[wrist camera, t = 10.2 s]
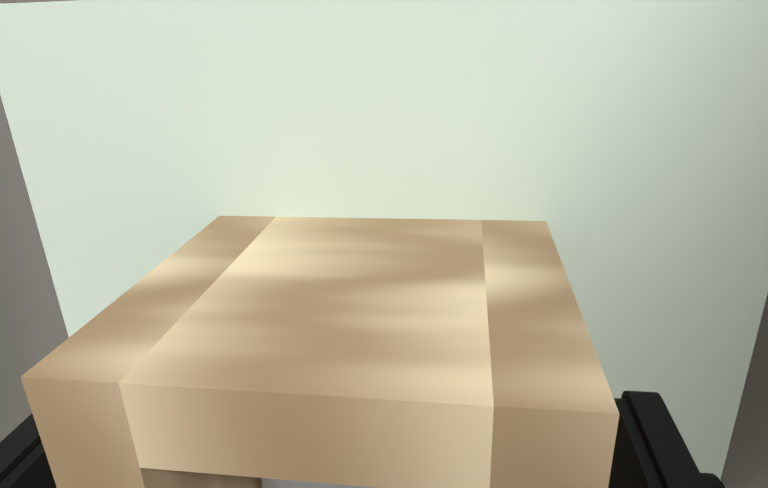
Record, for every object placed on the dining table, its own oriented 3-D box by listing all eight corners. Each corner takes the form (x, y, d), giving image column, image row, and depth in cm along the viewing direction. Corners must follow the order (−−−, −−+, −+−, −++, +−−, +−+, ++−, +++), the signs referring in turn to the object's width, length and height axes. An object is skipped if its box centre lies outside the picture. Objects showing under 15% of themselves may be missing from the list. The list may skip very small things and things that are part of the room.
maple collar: (546, 220, 11) (618, 414, 6) (524, 484, 14) (561, 787, 9) (219, 215, 12) (20, 376, 7) (256, 462, 15) (134, 722, 9)
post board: (799, -26, 10) (1108, -63, 5) (665, 576, 16) (752, 823, 11) (28, 6, 13) (-261, 0, 8) (158, 526, 19) (43, 714, 14)
